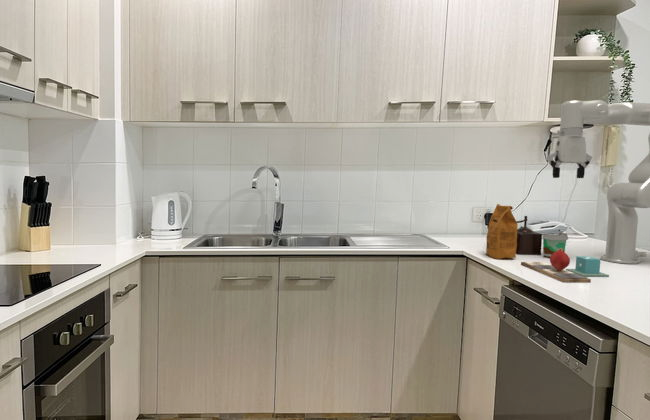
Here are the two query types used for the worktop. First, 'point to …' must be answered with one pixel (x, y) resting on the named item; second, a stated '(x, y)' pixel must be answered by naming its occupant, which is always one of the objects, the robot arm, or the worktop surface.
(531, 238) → the manual coffee grinder
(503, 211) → the coffee package
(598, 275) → the mat
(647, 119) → the robot arm
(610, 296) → the worktop surface
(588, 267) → the die
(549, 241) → the food container
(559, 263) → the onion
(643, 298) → the worktop surface
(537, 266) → the board
